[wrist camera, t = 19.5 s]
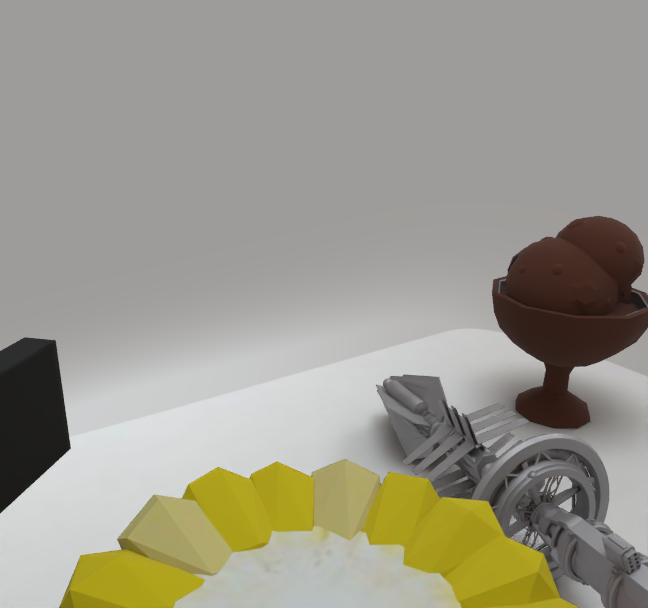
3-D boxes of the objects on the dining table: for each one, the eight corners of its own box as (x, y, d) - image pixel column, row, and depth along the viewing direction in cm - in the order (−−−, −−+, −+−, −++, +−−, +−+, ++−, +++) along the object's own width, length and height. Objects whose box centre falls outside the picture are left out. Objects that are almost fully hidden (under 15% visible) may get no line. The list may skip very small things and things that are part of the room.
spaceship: (991, 1028, 10) (1261, 738, 11) (319, 370, 42) (414, 318, 44) (998, 1212, 12) (1218, 954, 14) (360, 458, 45) (447, 406, 46)
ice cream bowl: (558, 371, 53) (584, 199, 48) (665, 435, 43) (712, 226, 38) (453, 388, 49) (469, 205, 44) (542, 461, 39) (576, 236, 34)
